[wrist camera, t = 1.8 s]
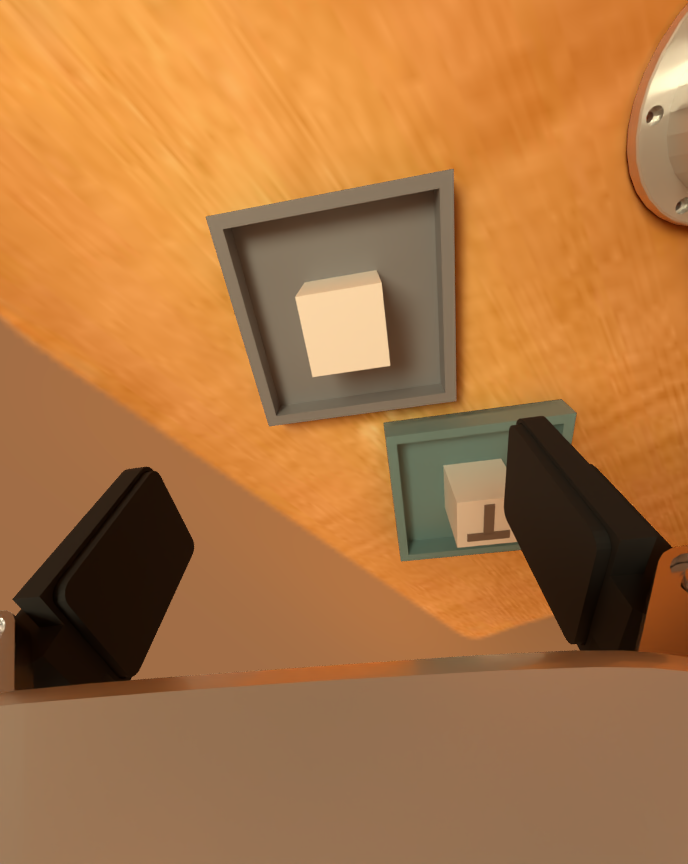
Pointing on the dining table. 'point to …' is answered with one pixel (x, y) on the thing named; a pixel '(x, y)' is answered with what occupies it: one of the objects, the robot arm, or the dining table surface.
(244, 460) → the dining table surface
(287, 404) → the charcoal tray
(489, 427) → the teal tray
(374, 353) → the blank cube
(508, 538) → the letter cube
